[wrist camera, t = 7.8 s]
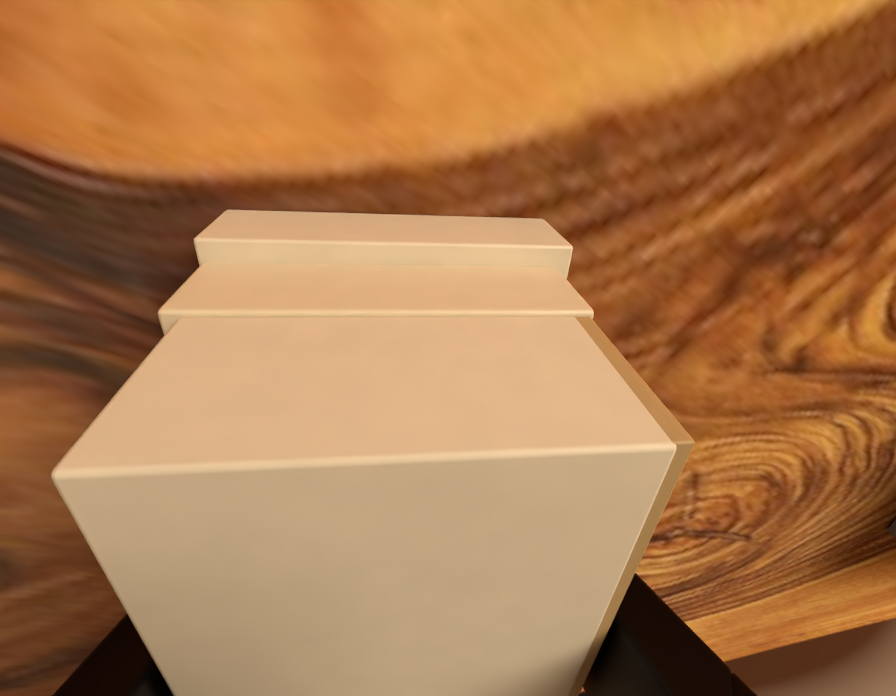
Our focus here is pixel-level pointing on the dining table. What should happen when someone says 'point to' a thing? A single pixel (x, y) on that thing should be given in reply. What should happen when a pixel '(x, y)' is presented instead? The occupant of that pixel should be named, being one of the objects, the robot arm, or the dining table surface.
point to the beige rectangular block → (375, 502)
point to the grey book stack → (892, 528)
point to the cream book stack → (376, 268)
